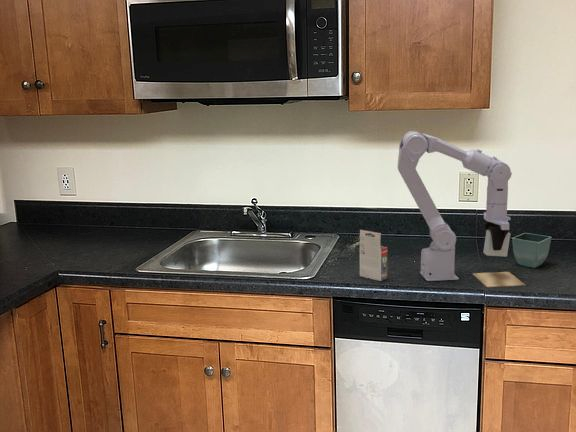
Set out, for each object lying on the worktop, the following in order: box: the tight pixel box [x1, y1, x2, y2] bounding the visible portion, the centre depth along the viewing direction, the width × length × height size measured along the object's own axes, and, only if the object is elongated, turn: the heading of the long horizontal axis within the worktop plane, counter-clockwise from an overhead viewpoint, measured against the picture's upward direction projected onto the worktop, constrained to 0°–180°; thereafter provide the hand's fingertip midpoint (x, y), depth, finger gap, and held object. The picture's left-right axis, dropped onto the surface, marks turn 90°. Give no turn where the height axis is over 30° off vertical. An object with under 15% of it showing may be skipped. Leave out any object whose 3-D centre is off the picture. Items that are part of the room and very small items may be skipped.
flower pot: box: [511, 232, 552, 269], centre depth 202 cm, size 9×9×9 cm
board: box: [472, 271, 526, 288], centre depth 190 cm, size 11×12×1 cm
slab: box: [483, 230, 511, 257], centre depth 191 cm, size 6×3×7 cm, turn 94°
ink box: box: [359, 229, 388, 282], centre depth 194 cm, size 4×8×15 cm, turn 47°
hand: (494, 248), depth 192 cm, fingers closed on slab, 3 cm apart
